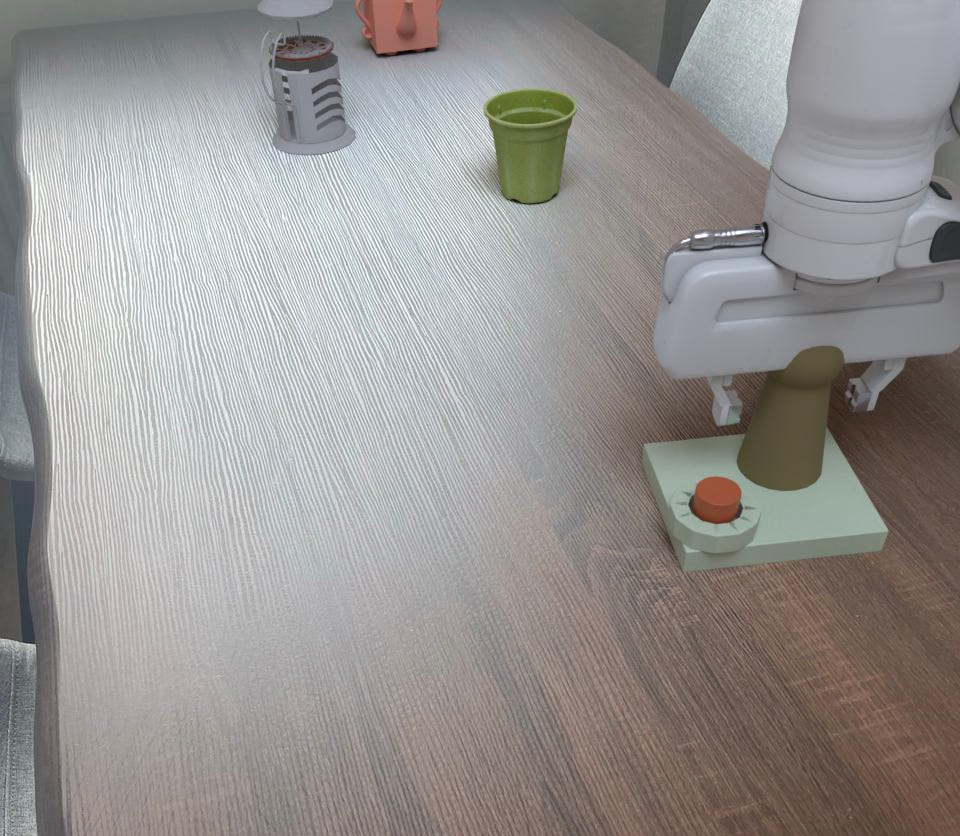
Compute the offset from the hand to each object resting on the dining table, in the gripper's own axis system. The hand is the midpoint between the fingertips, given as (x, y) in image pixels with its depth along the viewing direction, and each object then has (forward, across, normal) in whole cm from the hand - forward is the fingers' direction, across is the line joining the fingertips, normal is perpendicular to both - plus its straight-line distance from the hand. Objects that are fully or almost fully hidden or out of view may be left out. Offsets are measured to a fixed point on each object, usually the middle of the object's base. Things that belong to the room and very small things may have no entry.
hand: (791, 413), depth 71 cm
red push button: (+3, -7, -6) cm, 9 cm away
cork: (+5, 0, 0) cm, 5 cm away
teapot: (+6, -20, +98) cm, 100 cm away
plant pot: (+6, -10, +51) cm, 52 cm away
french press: (+6, -33, +69) cm, 77 cm away
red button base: (+6, -2, -2) cm, 7 cm away
